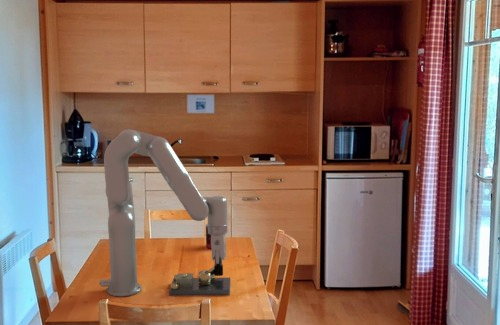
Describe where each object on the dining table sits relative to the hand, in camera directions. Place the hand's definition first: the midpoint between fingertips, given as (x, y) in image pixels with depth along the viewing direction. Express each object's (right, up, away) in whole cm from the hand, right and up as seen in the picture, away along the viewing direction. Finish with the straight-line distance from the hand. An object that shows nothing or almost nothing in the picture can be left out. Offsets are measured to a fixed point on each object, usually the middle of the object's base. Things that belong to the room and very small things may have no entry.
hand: (218, 275), depth 219 cm
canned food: (-5, +3, +48) cm, 48 cm away
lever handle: (-4, -1, -2) cm, 4 cm away
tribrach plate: (-6, -4, -6) cm, 9 cm away
